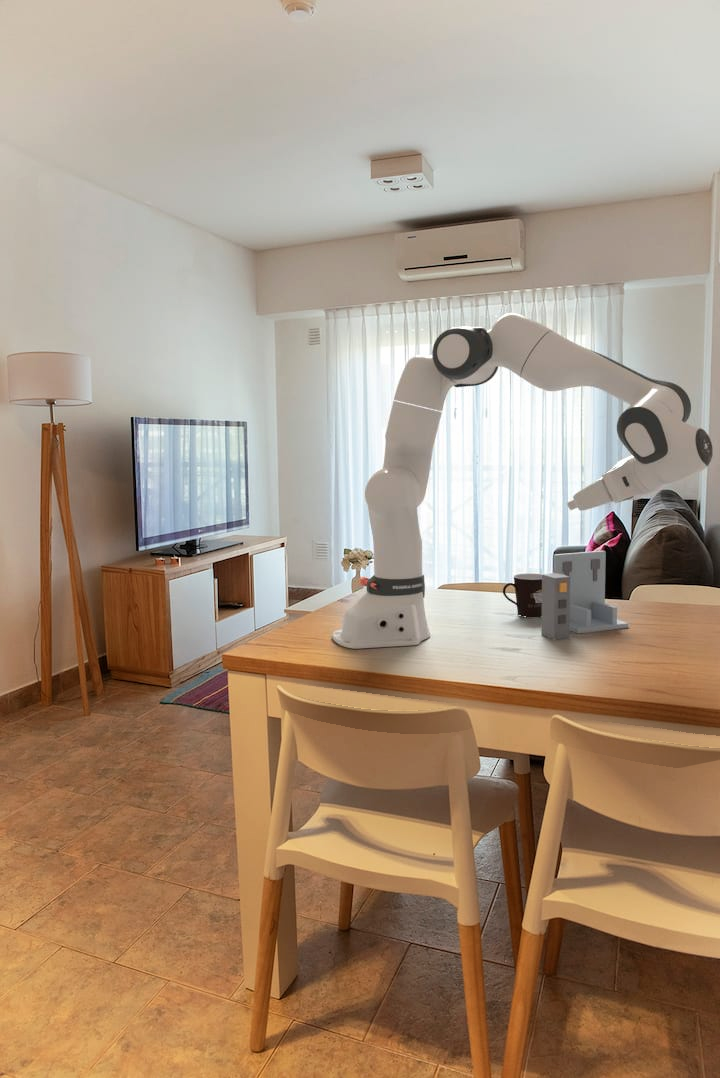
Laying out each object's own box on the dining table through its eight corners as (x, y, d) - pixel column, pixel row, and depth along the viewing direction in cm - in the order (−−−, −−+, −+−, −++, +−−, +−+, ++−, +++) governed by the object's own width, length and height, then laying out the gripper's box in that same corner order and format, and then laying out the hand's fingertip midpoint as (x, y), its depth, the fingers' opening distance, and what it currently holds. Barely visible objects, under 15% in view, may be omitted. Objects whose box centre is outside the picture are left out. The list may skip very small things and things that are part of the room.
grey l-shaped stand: (577, 633, 170) (578, 560, 168) (552, 624, 180) (553, 554, 177) (628, 627, 175) (629, 555, 173) (601, 618, 184) (602, 550, 182)
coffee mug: (545, 611, 193) (545, 573, 192) (550, 619, 185) (550, 579, 183) (500, 611, 194) (500, 573, 193) (503, 618, 186) (503, 579, 185)
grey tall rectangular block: (555, 640, 165) (556, 578, 163) (541, 634, 170) (542, 574, 168) (570, 638, 166) (571, 577, 164) (556, 633, 171) (557, 573, 169)
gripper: (652, 453, 159) (600, 477, 170) (603, 473, 146) (550, 498, 156) (665, 480, 158) (611, 502, 169) (617, 503, 145) (562, 525, 156)
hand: (581, 500), depth 163 cm, fingers open, 8 cm apart
